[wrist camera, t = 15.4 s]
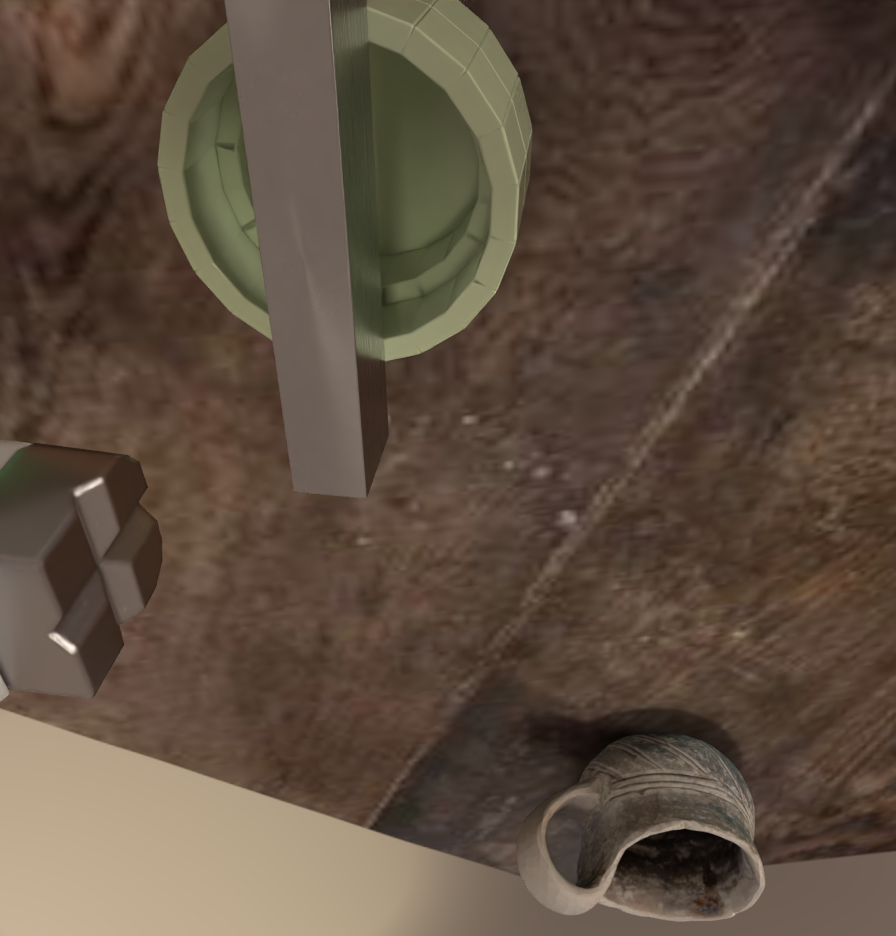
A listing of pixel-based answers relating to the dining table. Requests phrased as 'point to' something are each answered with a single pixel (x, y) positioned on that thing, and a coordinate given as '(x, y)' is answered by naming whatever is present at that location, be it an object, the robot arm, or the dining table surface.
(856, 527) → the dining table surface
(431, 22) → the bowl
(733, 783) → the mug
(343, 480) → the long grey metal bar
